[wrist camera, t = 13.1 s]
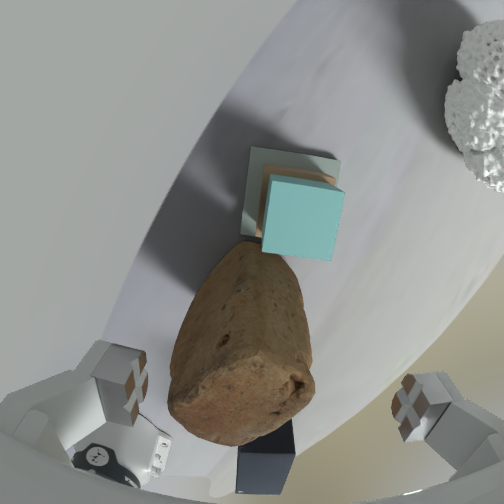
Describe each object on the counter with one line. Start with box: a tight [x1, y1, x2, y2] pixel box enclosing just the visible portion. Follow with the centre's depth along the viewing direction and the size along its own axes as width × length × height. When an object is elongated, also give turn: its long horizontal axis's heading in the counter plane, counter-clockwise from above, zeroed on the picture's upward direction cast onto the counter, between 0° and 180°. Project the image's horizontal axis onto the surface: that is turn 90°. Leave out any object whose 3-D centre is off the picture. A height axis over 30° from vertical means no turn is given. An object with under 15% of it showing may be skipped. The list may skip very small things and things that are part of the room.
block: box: [167, 241, 315, 447], centre depth 25 cm, size 11×8×20 cm
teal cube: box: [262, 174, 345, 261], centre depth 23 cm, size 5×5×5 cm
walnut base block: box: [255, 163, 336, 238], centre depth 28 cm, size 6×6×5 cm
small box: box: [236, 418, 296, 495], centre depth 37 cm, size 13×7×12 cm, turn 176°
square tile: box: [240, 146, 341, 236], centre depth 31 cm, size 9×9×1 cm
